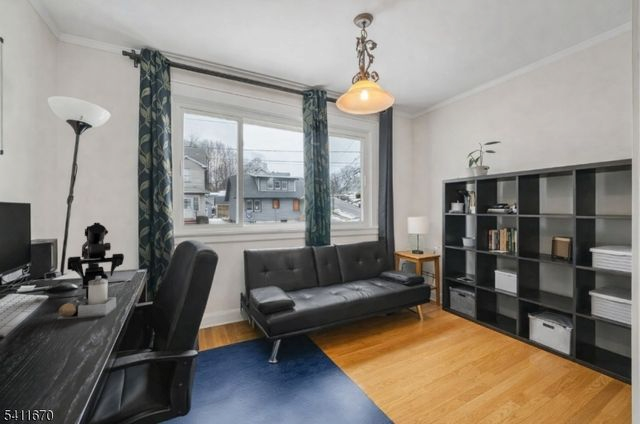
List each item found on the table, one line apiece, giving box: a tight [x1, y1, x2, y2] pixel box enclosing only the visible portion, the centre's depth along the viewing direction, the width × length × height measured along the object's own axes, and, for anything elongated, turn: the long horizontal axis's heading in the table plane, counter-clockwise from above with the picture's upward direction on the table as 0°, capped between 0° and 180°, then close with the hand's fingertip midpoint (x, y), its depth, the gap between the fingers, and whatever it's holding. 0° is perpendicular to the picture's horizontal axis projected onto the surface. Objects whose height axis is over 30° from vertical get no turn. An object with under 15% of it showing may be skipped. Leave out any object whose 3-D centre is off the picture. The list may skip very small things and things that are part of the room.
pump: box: [88, 276, 109, 305], centre depth 110 cm, size 6×6×14 cm
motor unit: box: [56, 296, 117, 320], centre depth 109 cm, size 10×16×6 cm, turn 107°
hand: (97, 277), depth 113 cm, fingers open, 9 cm apart
